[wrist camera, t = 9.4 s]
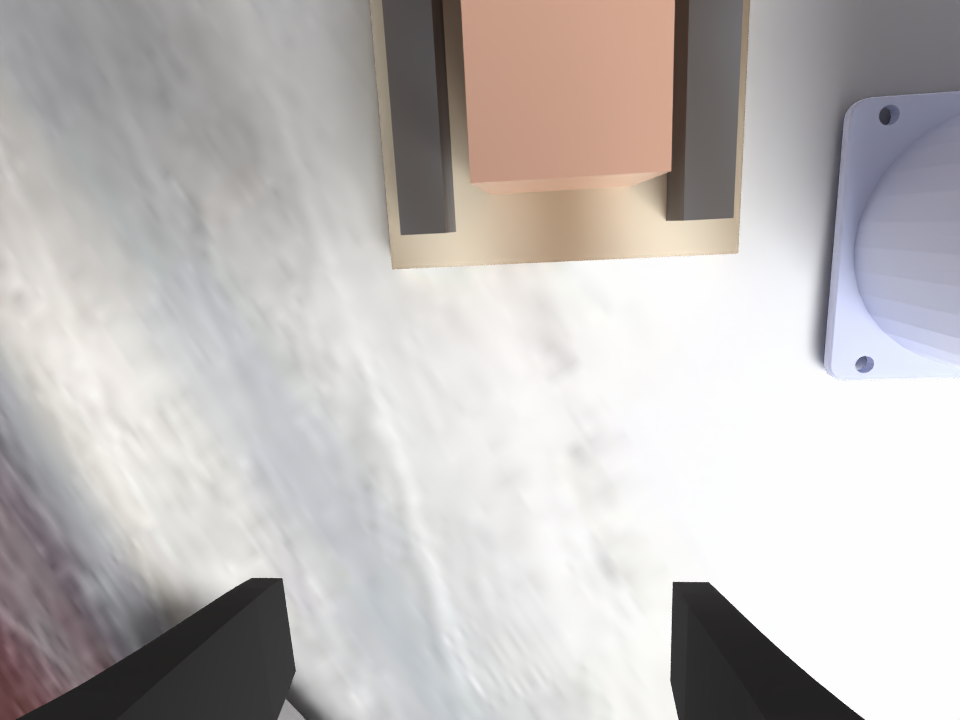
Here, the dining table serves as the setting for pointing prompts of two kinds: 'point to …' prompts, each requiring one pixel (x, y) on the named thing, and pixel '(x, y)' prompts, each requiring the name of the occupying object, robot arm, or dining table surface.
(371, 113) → the dining table surface
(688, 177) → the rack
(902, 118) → the robot arm
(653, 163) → the clay block
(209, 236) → the dining table surface
